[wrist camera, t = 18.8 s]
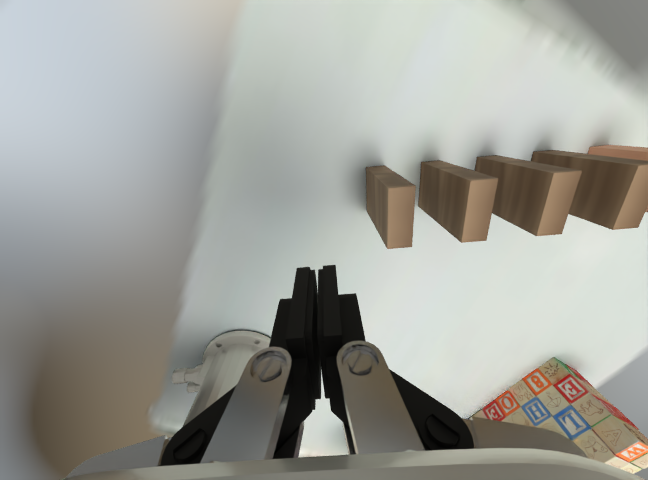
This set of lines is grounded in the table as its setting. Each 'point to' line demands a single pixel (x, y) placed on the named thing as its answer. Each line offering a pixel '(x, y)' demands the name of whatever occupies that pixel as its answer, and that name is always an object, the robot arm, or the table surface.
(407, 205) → the domino
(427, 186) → the domino
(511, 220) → the domino
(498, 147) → the table surface
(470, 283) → the table surface
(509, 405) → the stack of blocks
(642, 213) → the domino
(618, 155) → the end domino
